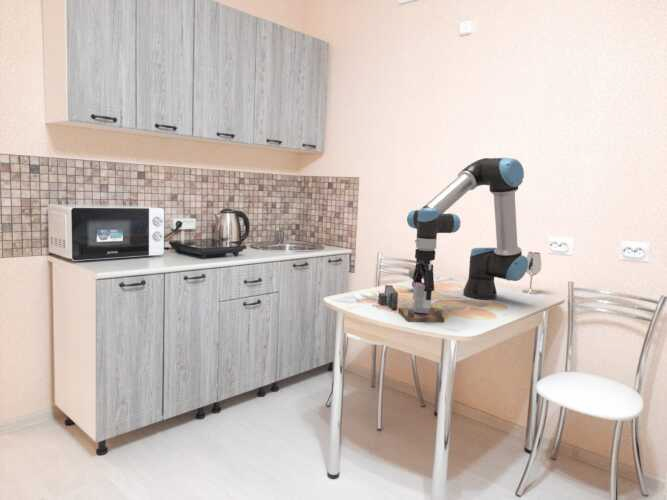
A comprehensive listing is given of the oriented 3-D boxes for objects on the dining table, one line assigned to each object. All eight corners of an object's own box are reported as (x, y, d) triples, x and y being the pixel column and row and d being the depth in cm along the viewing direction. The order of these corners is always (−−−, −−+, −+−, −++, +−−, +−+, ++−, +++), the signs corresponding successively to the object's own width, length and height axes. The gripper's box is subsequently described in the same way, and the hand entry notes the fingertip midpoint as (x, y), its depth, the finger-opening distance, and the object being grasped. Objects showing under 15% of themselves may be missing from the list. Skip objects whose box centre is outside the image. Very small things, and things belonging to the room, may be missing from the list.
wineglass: (521, 292, 250) (525, 252, 247) (521, 289, 257) (526, 251, 254) (538, 294, 247) (542, 254, 244) (538, 291, 254) (542, 252, 252)
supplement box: (428, 315, 192) (431, 285, 190) (413, 313, 193) (415, 284, 191) (428, 311, 198) (430, 282, 196) (412, 310, 198) (414, 281, 197)
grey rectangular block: (397, 307, 206) (398, 292, 205) (389, 307, 206) (390, 292, 205) (391, 299, 220) (392, 285, 220) (384, 298, 220) (385, 285, 219)
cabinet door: (429, 309, 207) (430, 292, 206) (443, 322, 189) (445, 304, 188) (390, 308, 205) (392, 292, 204) (402, 321, 187) (403, 303, 186)
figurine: (409, 288, 246) (411, 264, 244) (425, 290, 243) (427, 266, 242) (406, 291, 239) (407, 266, 237) (421, 293, 236) (423, 268, 234)
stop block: (383, 302, 215) (384, 293, 215) (386, 305, 210) (387, 296, 210) (378, 302, 215) (378, 293, 214) (380, 305, 210) (381, 295, 210)
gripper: (407, 244, 203) (403, 295, 206) (425, 253, 179) (421, 311, 182) (425, 244, 204) (421, 296, 207) (446, 254, 180) (441, 312, 183)
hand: (421, 303), depth 195 cm, fingers open, 13 cm apart
